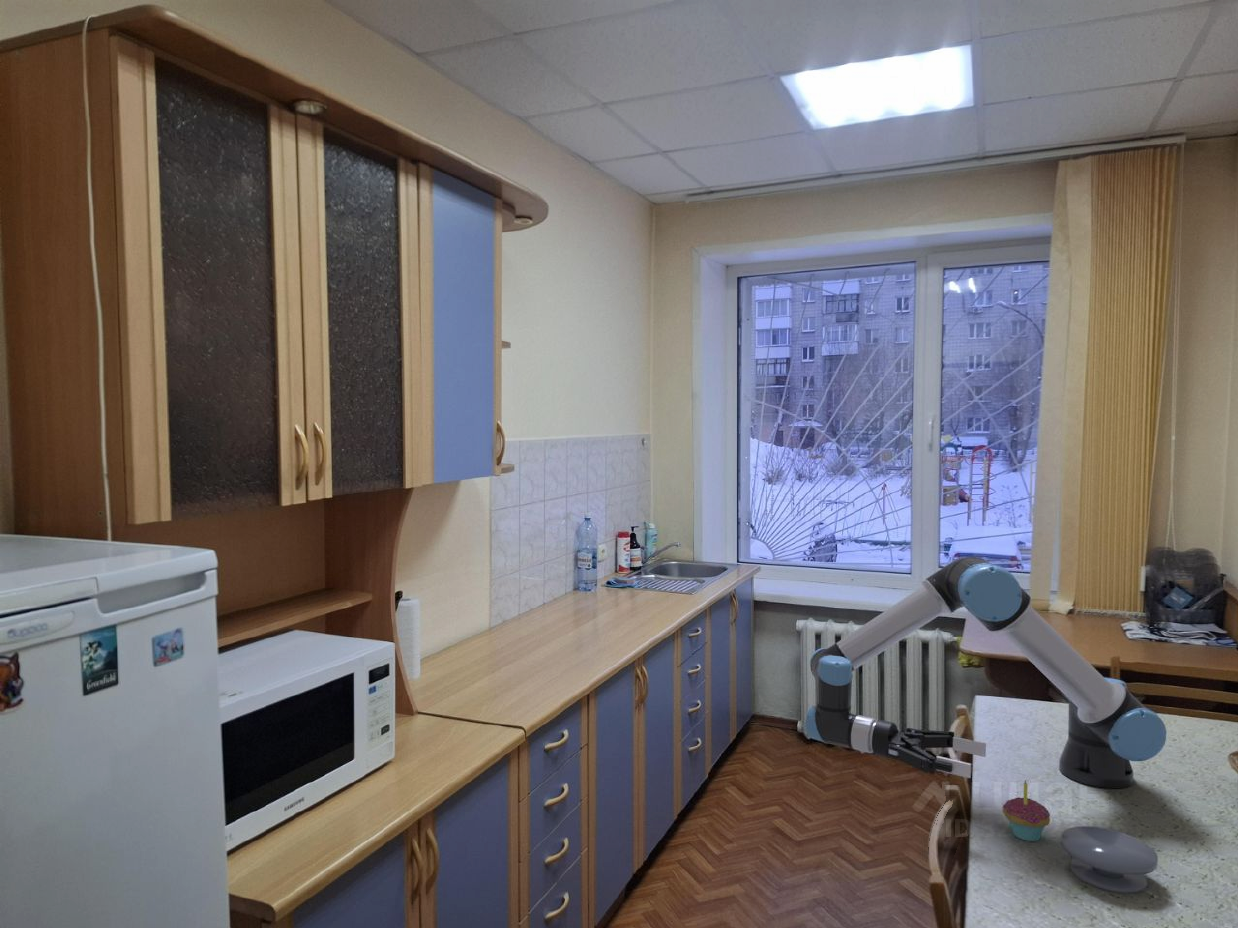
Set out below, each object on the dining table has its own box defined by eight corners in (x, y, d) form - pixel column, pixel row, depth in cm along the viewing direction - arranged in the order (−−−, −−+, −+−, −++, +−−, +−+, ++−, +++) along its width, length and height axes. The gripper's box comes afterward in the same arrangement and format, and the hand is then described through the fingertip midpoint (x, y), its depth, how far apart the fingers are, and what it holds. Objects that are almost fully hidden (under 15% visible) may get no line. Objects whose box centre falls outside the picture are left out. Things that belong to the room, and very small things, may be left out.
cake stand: (1129, 856, 155) (1130, 828, 155) (1175, 900, 140) (1176, 870, 140) (1047, 851, 157) (1047, 824, 157) (1083, 895, 142) (1084, 865, 142)
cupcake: (1047, 850, 157) (1048, 788, 157) (999, 838, 162) (1000, 779, 162) (1051, 831, 165) (1052, 773, 164) (1005, 821, 169) (1006, 764, 169)
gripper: (892, 736, 191) (990, 759, 178) (855, 771, 170) (963, 799, 158) (893, 705, 190) (991, 725, 178) (856, 736, 170) (964, 761, 158)
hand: (978, 760), depth 168 cm, fingers open, 13 cm apart
